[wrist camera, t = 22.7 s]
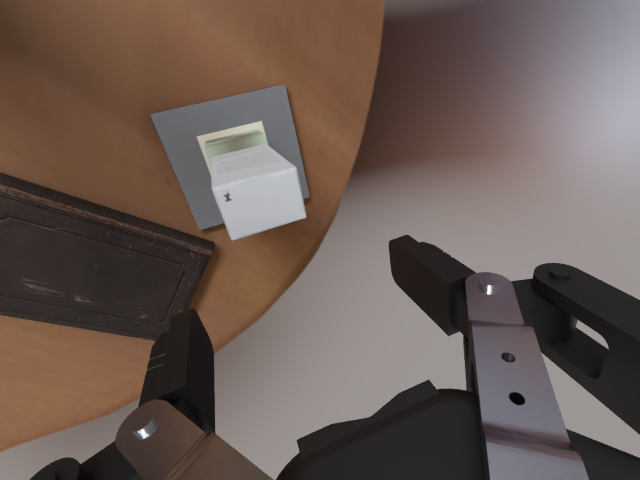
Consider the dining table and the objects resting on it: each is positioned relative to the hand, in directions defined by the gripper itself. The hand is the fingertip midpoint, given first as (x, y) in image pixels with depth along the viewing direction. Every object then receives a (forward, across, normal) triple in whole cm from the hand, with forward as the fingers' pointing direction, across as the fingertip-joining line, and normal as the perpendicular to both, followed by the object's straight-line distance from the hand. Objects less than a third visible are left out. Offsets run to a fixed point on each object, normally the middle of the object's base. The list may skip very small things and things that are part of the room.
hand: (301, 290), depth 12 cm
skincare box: (+23, 0, 0) cm, 23 cm away
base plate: (+30, 0, 0) cm, 30 cm away
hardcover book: (+31, +20, +8) cm, 38 cm away
